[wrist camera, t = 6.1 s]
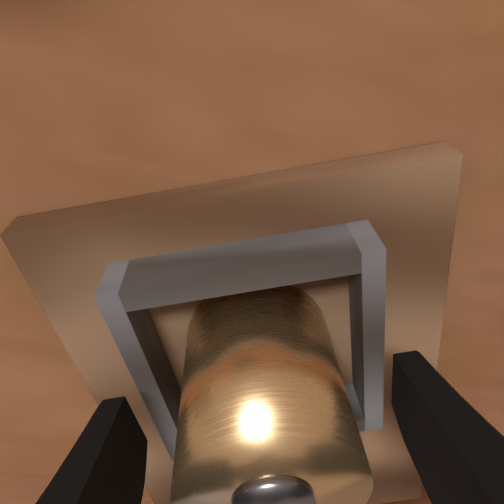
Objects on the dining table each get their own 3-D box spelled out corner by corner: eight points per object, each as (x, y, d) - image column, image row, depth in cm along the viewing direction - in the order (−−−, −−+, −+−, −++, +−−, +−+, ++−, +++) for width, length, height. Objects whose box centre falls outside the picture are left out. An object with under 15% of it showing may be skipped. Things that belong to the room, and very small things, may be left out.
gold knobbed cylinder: (328, 370, 14) (376, 542, 10) (204, 389, 14) (195, 567, 10) (320, 268, 12) (378, 433, 7) (171, 292, 12) (141, 468, 8)
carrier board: (412, 476, 20) (434, 533, 18) (174, 511, 21) (169, 570, 19) (445, 141, 11) (496, 177, 9) (16, 217, 12) (-31, 268, 9)
